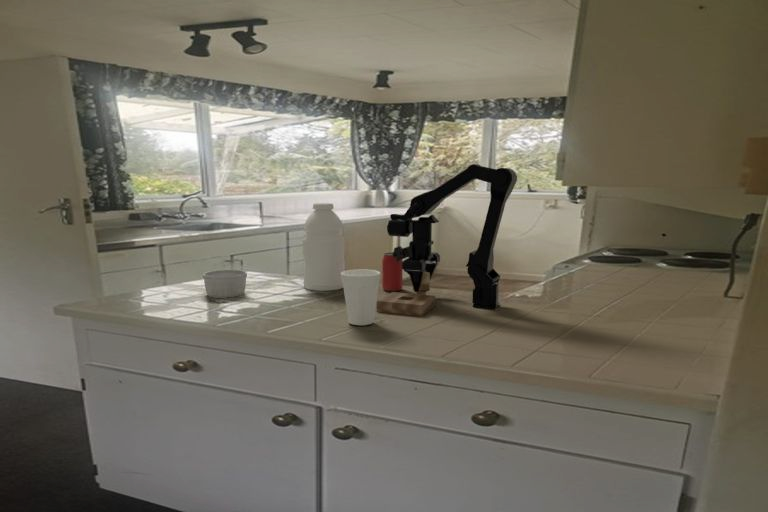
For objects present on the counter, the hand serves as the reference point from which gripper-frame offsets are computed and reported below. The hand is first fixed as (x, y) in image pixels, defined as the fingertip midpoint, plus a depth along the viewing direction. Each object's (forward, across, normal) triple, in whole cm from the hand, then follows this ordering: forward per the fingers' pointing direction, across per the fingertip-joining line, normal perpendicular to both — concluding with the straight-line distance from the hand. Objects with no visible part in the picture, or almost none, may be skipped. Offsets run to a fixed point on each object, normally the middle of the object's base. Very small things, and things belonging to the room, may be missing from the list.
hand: (421, 289), depth 160 cm
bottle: (+3, -4, -36) cm, 36 cm away
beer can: (+3, -9, -13) cm, 16 cm away
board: (+3, +13, 0) cm, 13 cm away
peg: (+3, 0, 0) cm, 3 cm away
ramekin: (+3, +18, -59) cm, 62 cm away
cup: (+3, +32, -5) cm, 32 cm away
